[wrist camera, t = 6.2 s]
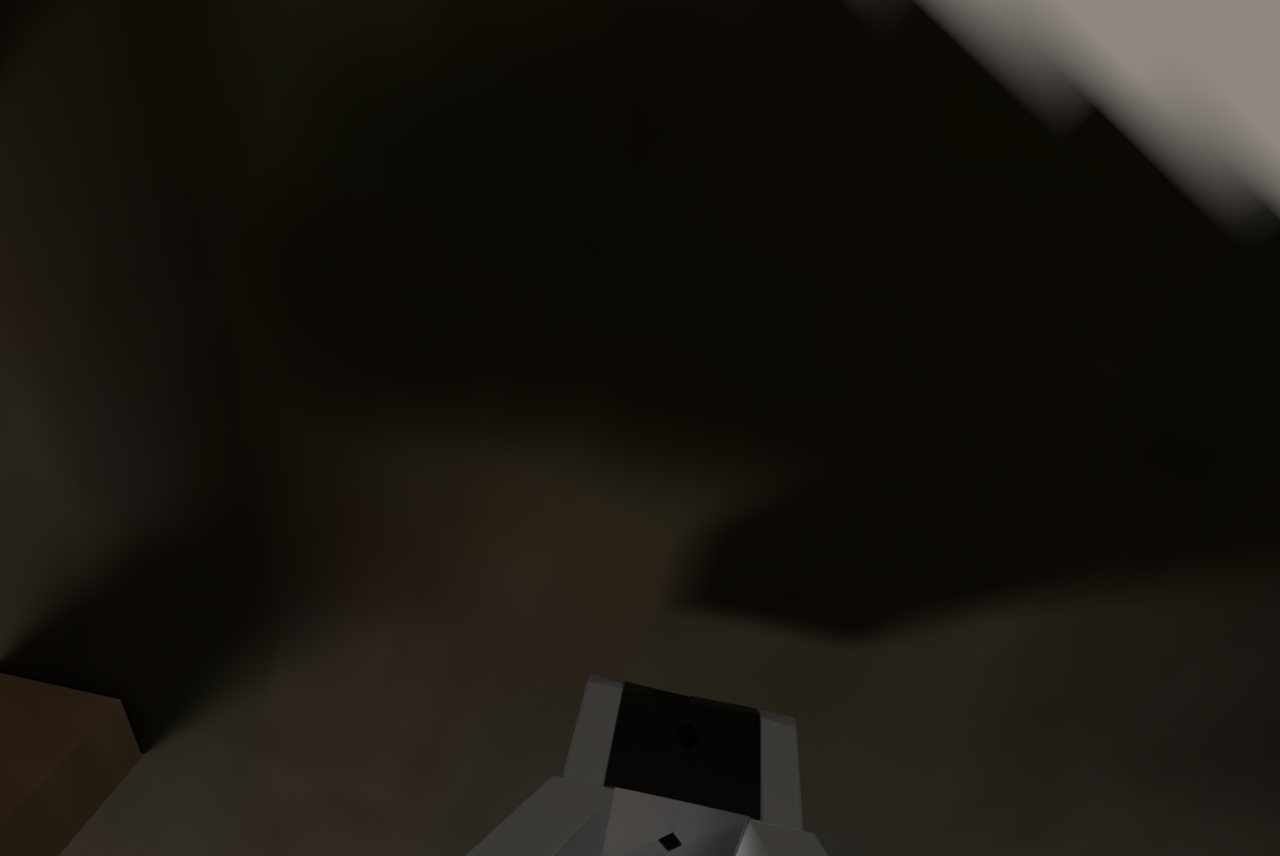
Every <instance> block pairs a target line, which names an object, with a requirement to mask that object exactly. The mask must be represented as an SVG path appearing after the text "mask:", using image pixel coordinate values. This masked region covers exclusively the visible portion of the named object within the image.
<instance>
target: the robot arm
mask: <svg viewBox="0 0 1280 856" xmlns="http://www.w3.org/2000/svg"><path fill="white" fill-rule="evenodd" d="M623 685H624V688H623ZM622 691H623V693H622ZM621 696H622V698H621ZM620 702H621V703H620ZM466 856H828V855H827V853H826V851H825V850H824V848H823V847H822V845H821V843H820V842H819V840H818V839H817V837H816V835H815V834H814V833H812V832H808V831H804V830H803V820H802V804H801V789H800V773H799V758H798V742H797V727H796V723H795V720H794V718H793V717H790V716H785V715H781V714H776V713H771V712H766V711H761V710H758V711H757V709H756V708H751V707H746V706H741V705H735V704H730V703H725V702H720V701H715V700H710V699H705V698H700V697H695V696H690V697H688V696H684V695H680V694H675V693H671V692H667V691H663V690H659V689H655V688H650V687H646V686H642V685H638V684H634V683H630V682H625V683H624V681H621V680H616V679H612V678H607V677H603V676H598V675H594V674H591V675H590V677H589V679H588V681H587V684H586V688H585V691H584V695H583V699H582V703H581V707H580V711H579V715H578V719H577V722H576V726H575V730H574V734H573V738H572V742H571V746H570V750H569V754H568V757H567V761H566V765H565V769H564V773H563V777H559V776H553V775H552V776H551V777H550V778H549V779H548V780H546V781H545V782H544V783H543V784H542V785H541V786H540V787H539V788H538V789H537V790H536V791H535V792H534V793H532V794H531V795H530V796H529V797H528V798H527V799H526V800H525V801H524V802H523V803H522V804H521V805H520V806H518V807H517V808H516V809H515V810H514V811H513V812H512V813H511V814H510V815H509V816H508V817H507V818H505V819H504V820H503V821H502V822H501V823H500V824H499V825H498V826H497V827H496V828H495V829H494V830H493V831H491V832H490V833H489V834H488V835H487V836H486V837H485V838H484V839H483V840H482V841H481V842H480V843H479V844H477V845H476V846H475V847H474V848H473V849H472V850H471V851H470V852H469V853H468V854H467V855H466Z"/></svg>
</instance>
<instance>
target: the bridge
mask: <svg viewBox="0 0 1280 856" xmlns="http://www.w3.org/2000/svg"><path fill="white" fill-rule="evenodd" d="M141 757H142V755H141V752H140V750H139V747H138V744H137V742H136V739H135V736H134V734H133V731H132V728H131V726H130V723H129V721H128V718H127V715H126V713H125V710H124V707H123V705H122V702H121V700H120V699H116V698H111V697H107V696H102V695H98V694H93V693H89V692H84V691H80V690H75V689H71V688H66V687H62V686H57V685H53V684H48V683H44V682H39V681H35V680H30V679H26V678H21V677H17V676H12V675H8V674H3V673H0V856H59V854H60V853H61V852H62V851H63V850H64V849H65V847H66V846H67V845H68V844H69V843H70V841H71V840H72V839H73V838H74V837H75V836H76V834H77V833H78V832H79V831H80V830H81V828H82V827H83V826H84V825H85V824H86V823H87V821H88V820H89V819H90V818H91V817H92V815H93V814H94V813H95V812H96V811H97V809H98V808H99V807H100V806H101V805H102V804H103V802H104V801H105V800H106V799H107V798H108V796H109V795H110V794H111V793H112V792H113V791H114V789H115V788H116V787H117V786H118V785H119V783H120V782H121V781H122V780H123V779H124V778H125V776H126V775H127V774H128V773H129V772H130V770H131V769H132V768H133V767H134V766H135V764H136V763H137V762H138V761H139V760H140V759H141Z"/></svg>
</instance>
